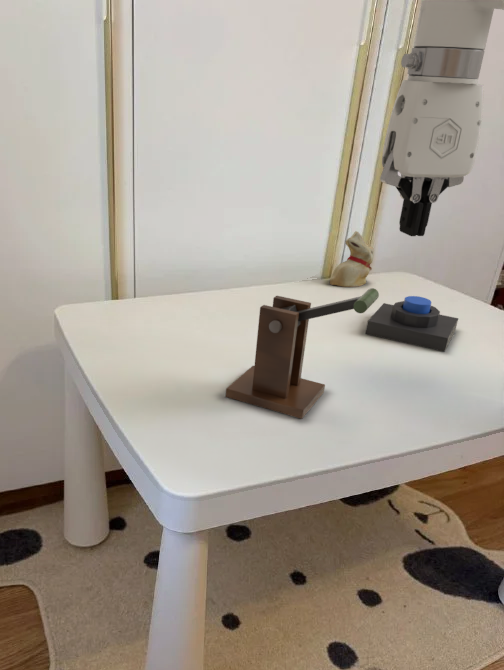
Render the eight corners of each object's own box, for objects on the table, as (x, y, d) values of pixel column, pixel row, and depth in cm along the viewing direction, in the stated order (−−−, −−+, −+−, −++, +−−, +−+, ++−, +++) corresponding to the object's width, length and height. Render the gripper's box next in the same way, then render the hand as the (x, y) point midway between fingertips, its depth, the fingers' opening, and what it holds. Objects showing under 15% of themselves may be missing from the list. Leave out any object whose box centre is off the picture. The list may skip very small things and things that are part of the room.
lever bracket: (324, 392, 80) (338, 304, 74) (301, 419, 74) (315, 324, 68) (252, 373, 84) (260, 287, 78) (225, 396, 78) (232, 305, 72)
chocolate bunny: (371, 289, 119) (381, 235, 114) (329, 285, 119) (337, 232, 115) (368, 280, 124) (377, 228, 119) (327, 277, 124) (335, 225, 119)
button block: (455, 331, 102) (461, 307, 100) (444, 351, 94) (450, 326, 92) (381, 315, 106) (385, 292, 104) (365, 334, 98) (369, 309, 97)
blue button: (431, 309, 99) (433, 299, 98) (426, 317, 96) (428, 306, 95) (405, 304, 101) (407, 294, 100) (399, 311, 98) (402, 301, 97)
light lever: (381, 303, 70) (375, 282, 70) (369, 316, 66) (363, 294, 66) (284, 325, 77) (278, 306, 76) (268, 338, 73) (262, 318, 73)
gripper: (403, 65, 65) (372, 242, 74) (523, 72, 69) (481, 240, 78) (368, 64, 72) (343, 227, 80) (480, 70, 75) (445, 225, 84)
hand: (411, 233), depth 79 cm, fingers closed
